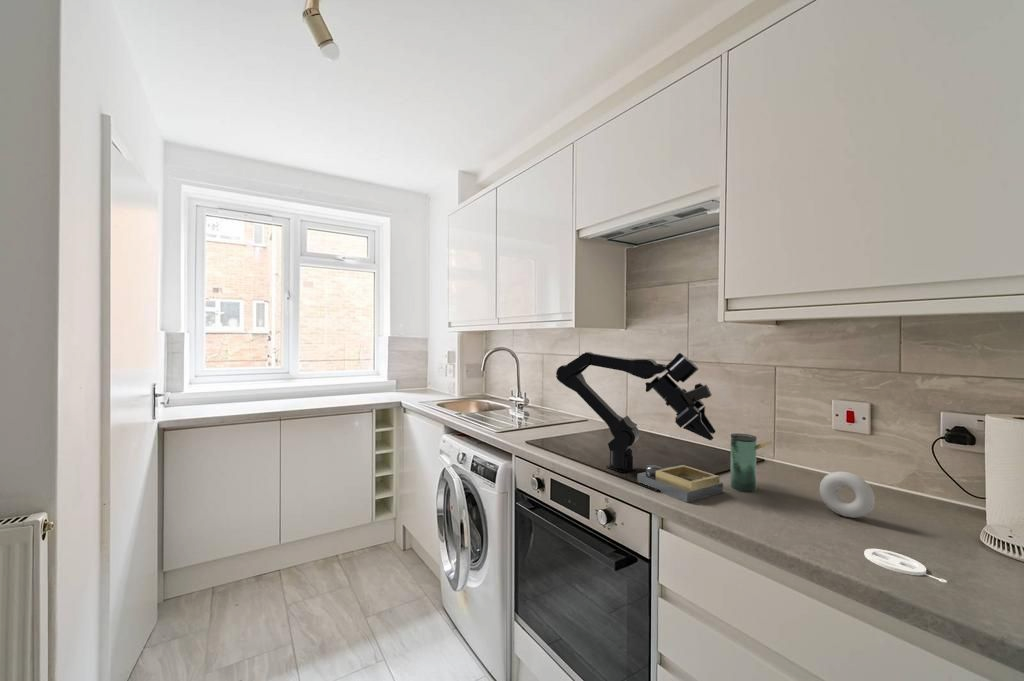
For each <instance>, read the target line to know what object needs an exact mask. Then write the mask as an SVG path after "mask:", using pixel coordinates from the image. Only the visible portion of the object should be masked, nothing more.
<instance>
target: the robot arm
mask: <svg viewBox="0 0 1024 681" xmlns="http://www.w3.org/2000/svg"><path fill="white" fill-rule="evenodd" d="M589 366H593V367H600V368H605V369H610V370H615V371H622V372H624V373H628V374H630V375H632V376H634V377H637V378H640V379H643V380H648V379H652V378H653V379H652V380H651V381H649V382H645V384H644V385H645V393H648V392H650V391H652V390H654V391H655V392H656V393H657V395H658V396H659V397H660V398H662V399H663V401H664V402H665V405H666V406H667V407H670V408H671V409H672V410H673V411H674V412H675V413H676V414H675V415H676V417H675V419H674V420H675V424H677V426H678V427H679V428H682V429H684V430H686V431H689V432H691V433H693V434H696V435H697V436H700V437H701V438H702V437H703V438H704V439H707V440H708V441H712V440H713V439H714V436H713V434H715V433H716V429H715V428H714V426H713V424H712V423H711V422H710V420H709V418H708V417H707V416H706V406H705V404H704V402H703V401H702V399H707V398H710V397H712V392H711V391H710V388H709V386H708V384H702V383H701V382H699V383H697V384H695V385H694V388H693V389H691V390H689V391H687V390H686V389H685V388H681V387H679V385H678V384H677V383H679V382H681V383H685V382H686V381H687V380H688V379H690V378H691V377H692V376H693V375H694V374H695V373H696V372H697V371H699V367H698V366H697V365H696V364H695V363H694V362H693V361H692V360H691V359H688V357H687V356H685V355H684V354H682V353H681V352H679V353H677V354H676V355H675V357H674V358H673V359H672V360H671V361H669V363H667V364H665V363H663V364H662V363H657V361H656V360H654V359H652V358H634V359H633V358H624V357H623V358H622V357H616V356H612V355H604V354H600V353H599V354H598V353H593V352H591V351H588V352H586V351H585V352H582V354H581V355H579V356H578V357H577V358H575V359H573V360H572V361H570V362H568V363H567V364H564V365H561V366H559V367H558V368H557V369H556V371H555V372H556V373H555V374H556V376H555V378H556V379H557V380H558V382H559V383H561V385H563V386H565V387H566V388H569V389H570V390H572V391H574V392H575V393H577V395H578V396H579V397H580V398H581V399H582V400H583V401H584V402H585V403H586V404H587V405H588V406H589V407H590V408H591V409H592V411H594V412H595V413H596V414H597V415H598V416H599V418H601V420H602V421H604V423H605V424H606V425H607V427H608V429H609V431H610V434H611V435H612V436H613V439H612V440H610V441H609V442H608V443H607V446H608V449H609V464H606V466H605V467H606V468H607V467H608V469H610V470H612V469H613V471H615V470H616V471H615V472H617V471H619V472H618V473H620V472H622V473H627V472H631V470H632V471H635V470H636V469H637V468H636V467H634V464H633V463H634V456H633V449H631V448H632V446H633V444H635V442H637V441H638V439H639V437H640V429H639V428H638V427H637V426H638V424H637V423H635V422H634V421H633V420H632V419H631V418H630V416H628V415H625V416H624V417H622V416H620V414H618V413H617V412H615V410H614V409H613V408H612V407H611V406H610V405H609V404H608V403H607V402H606V401H605V400H603V398H602V397H601V396H600V395H599V394H598V393H597V392H596V391H595V390H594V389H593V388H592V387H591V386H590V385H589V384H588V382H586V379H585V377H584V375H583V372H584V371H585V370H587V368H589ZM666 371H667V372H666ZM662 373H664V374H663V375H662V376H661V377H660V376H656V375H659V374H662ZM654 377H655V378H654ZM626 471H627V472H626Z"/></svg>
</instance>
